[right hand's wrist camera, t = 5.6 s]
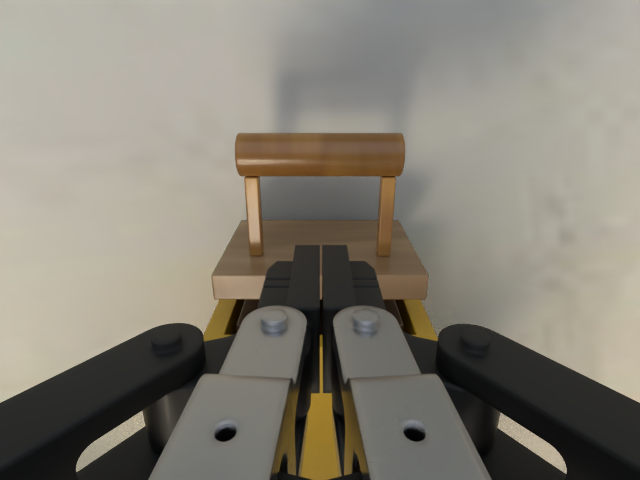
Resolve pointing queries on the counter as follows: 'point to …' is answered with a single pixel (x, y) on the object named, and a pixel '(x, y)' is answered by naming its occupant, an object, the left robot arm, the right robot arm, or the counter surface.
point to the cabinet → (320, 432)
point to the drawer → (282, 235)
